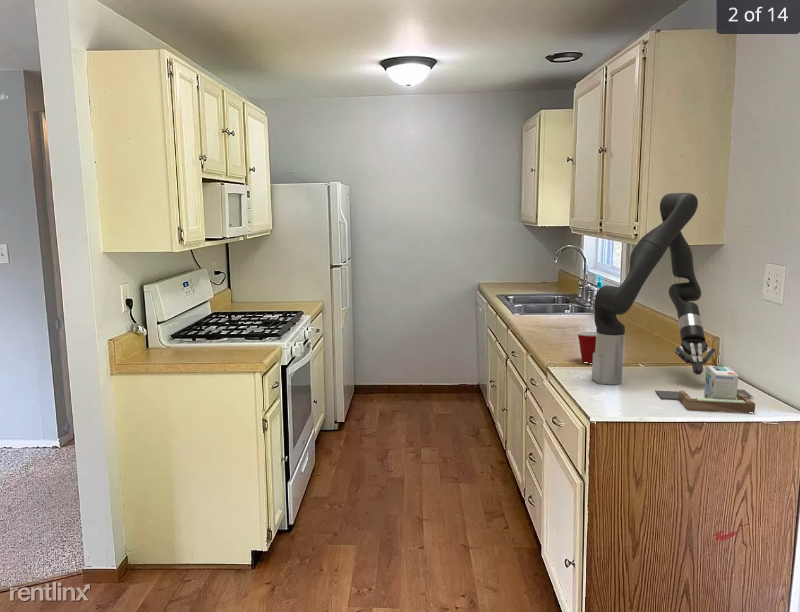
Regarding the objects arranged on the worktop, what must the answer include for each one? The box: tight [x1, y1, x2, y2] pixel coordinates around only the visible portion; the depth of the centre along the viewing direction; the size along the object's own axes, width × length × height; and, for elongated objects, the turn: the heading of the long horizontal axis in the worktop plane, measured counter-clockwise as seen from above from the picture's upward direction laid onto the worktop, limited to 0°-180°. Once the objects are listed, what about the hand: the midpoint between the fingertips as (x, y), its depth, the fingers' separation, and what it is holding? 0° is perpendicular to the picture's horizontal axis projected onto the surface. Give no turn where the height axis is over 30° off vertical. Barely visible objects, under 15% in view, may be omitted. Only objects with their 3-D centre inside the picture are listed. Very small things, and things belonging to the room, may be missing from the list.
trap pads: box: [655, 388, 754, 401], centre depth 197 cm, size 14×29×1 cm, turn 80°
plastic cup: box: [576, 331, 596, 363], centre depth 238 cm, size 11×11×12 cm
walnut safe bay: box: [678, 390, 756, 414], centre depth 186 cm, size 10×18×3 cm, turn 80°
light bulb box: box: [703, 365, 739, 400], centre depth 188 cm, size 11×7×11 cm, turn 167°
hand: (698, 373), depth 203 cm, fingers closed
